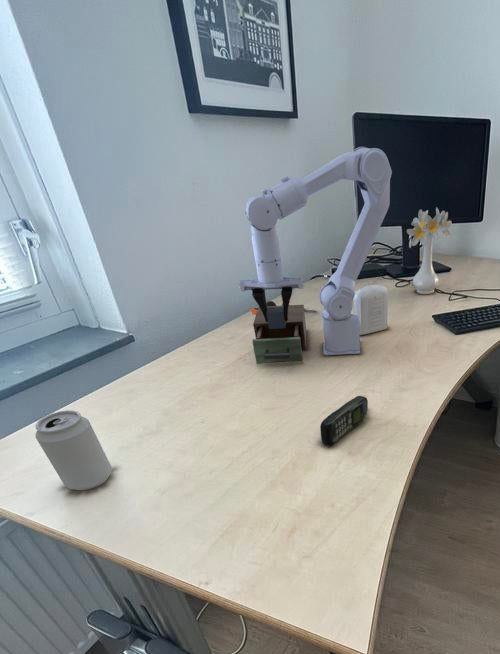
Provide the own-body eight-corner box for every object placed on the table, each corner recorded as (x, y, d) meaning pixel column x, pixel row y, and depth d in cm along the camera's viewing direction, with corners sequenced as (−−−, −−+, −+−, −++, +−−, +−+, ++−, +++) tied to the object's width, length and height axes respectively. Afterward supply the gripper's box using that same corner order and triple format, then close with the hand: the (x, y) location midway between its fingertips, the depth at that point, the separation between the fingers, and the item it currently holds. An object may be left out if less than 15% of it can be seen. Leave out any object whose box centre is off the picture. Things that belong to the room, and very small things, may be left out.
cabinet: (305, 350, 116) (302, 321, 111) (258, 352, 115) (253, 323, 110) (306, 331, 126) (303, 304, 121) (262, 333, 125) (258, 306, 121)
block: (286, 322, 109) (284, 306, 106) (285, 328, 106) (283, 311, 103) (270, 323, 109) (267, 307, 106) (269, 329, 105) (266, 312, 103)
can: (77, 467, 77) (44, 408, 70) (120, 464, 78) (92, 405, 70) (57, 495, 71) (19, 434, 64) (104, 492, 72) (71, 431, 64)
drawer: (302, 368, 105) (299, 345, 101) (254, 371, 104) (250, 348, 100) (303, 342, 118) (301, 320, 114) (261, 344, 117) (257, 322, 113)
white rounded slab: (381, 325, 129) (381, 281, 121) (389, 329, 126) (390, 284, 119) (352, 332, 125) (350, 287, 117) (360, 337, 122) (358, 291, 114)
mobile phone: (329, 427, 77) (373, 391, 87) (315, 422, 79) (361, 387, 88) (331, 449, 81) (374, 412, 90) (318, 444, 82) (361, 408, 91)
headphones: (319, 302, 138) (286, 306, 121) (319, 319, 140) (287, 326, 124) (274, 297, 143) (236, 300, 126) (274, 314, 146) (238, 319, 129)
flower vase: (400, 298, 148) (403, 214, 133) (414, 283, 162) (418, 205, 146) (438, 302, 145) (445, 215, 129) (449, 286, 158) (457, 206, 142)
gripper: (232, 265, 94) (244, 327, 103) (299, 262, 95) (306, 324, 104) (237, 257, 99) (248, 317, 108) (300, 255, 100) (306, 314, 109)
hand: (276, 320), depth 106 cm, fingers closed on block, 4 cm apart
